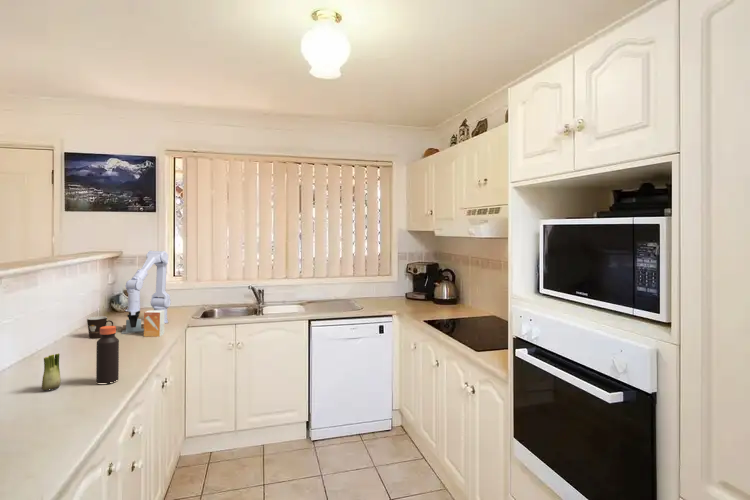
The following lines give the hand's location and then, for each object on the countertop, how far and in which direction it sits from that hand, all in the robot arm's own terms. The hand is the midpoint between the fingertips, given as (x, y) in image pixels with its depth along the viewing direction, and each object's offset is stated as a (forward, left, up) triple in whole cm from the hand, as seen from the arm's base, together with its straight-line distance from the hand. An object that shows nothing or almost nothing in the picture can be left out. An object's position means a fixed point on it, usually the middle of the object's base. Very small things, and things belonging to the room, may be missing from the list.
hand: (133, 325), depth 223 cm
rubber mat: (0, 0, -3) cm, 3 cm away
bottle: (+84, -4, -3) cm, 84 cm away
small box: (+14, +10, -3) cm, 17 cm away
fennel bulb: (+85, -20, -3) cm, 87 cm away
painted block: (0, 0, -3) cm, 3 cm away
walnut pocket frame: (-9, 0, -3) cm, 10 cm away
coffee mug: (+9, -15, -3) cm, 18 cm away
